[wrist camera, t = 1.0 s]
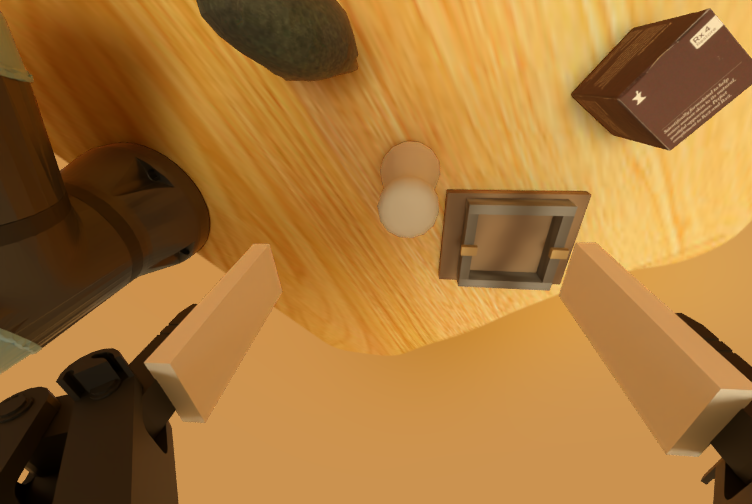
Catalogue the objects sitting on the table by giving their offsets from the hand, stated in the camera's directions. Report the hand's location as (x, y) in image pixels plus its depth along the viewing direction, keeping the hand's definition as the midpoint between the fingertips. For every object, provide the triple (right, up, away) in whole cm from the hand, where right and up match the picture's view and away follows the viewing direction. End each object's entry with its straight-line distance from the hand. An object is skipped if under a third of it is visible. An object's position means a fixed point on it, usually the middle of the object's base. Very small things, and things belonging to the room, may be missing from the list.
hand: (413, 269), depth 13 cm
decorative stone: (-6, +20, +13) cm, 25 cm away
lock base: (+13, +2, +21) cm, 25 cm away
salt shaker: (+2, +10, +18) cm, 21 cm away
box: (+20, +15, +13) cm, 28 cm away
